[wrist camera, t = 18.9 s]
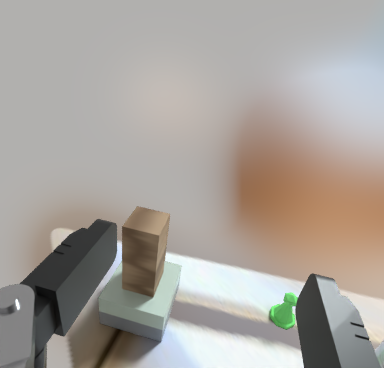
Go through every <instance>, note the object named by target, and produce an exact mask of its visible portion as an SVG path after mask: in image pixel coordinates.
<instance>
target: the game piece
mask: <svg viewBox="0 0 384 368" xmlns="http://www.w3.org/2000/svg"><path fill="white" fill-rule="evenodd" d="M297 299H298V298H297V297H296V296H295V295H294V294H293V293H285V297H284V300H283V301H284V303H283V304H281V305H280V304H277V305H275V306H273V307H272V308H271V312H270V318H271V319H272V321H273V322H274V323H275V325H276V326H278V327H281V328H283V329H286V330H287V329H289V328H291V327H293V326H294V324H295V315H294V314H293V313H292V306H296V303H297Z"/></svg>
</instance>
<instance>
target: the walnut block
mask: <svg viewBox="0 0 384 368" xmlns="http://www.w3.org/2000/svg"><path fill="white" fill-rule="evenodd" d="M169 219H170V214H168V213H163V212H159V211H155V210H151V209H147V208H142V207H136V209H135V210H134V211H133V213H132V214H131V216H130V217H129V218H128V220H127V221H126V222H125V224H124V225H123V226H122V289H124V290H128V291H132V292H135V293H139V294H142V295H146V296H150V297H154V295H155V292H156V290H157V287H158V285H159V282H160V280H161V277H162V275H163V272H164V263H165V254H166V245H167V236H168V227H169Z"/></svg>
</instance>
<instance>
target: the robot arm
mask: <svg viewBox="0 0 384 368" xmlns="http://www.w3.org/2000/svg"><path fill="white" fill-rule="evenodd" d="M116 253H117V225H116V223H113V222H109V221H105V220H101V219H97V220H96V221H95V222H94V223H93V224H92V225H91V226H90V227H89V228H88V229H85V228H81V229H79V230H77V231H75V232H73V233H72V234H70V235H69V236H68V237H67V238H66V239H65V240H64V241H63V242H62V243H61V245H59V246H58V247H57V248H56V249H55V250H54V252H53V253H51V254H50V255H49V256H48V257H47V258H46V259H45V260H44V261H43V262H42V263H41V264H40V265H39V266H37V268H35V269H34V271H32V273H30V274H29V275H28V276H27V277H26V278H25V279H24V280H23V281H22V282H21V283H20V284H15V285H9V286H6V287H3V288H1V289H0V368H46V358H47V357H46V356H47V344H46V343H47V342H48V341H49V339H50V338H51V336H52V335H53V334H54V333H55V334H57V335H60V336H65V335H66V333H67V332H68V330H69V329H70V327H71V326H72V324H73V323H74V321H75V320H76V318H77V317H78V315H79V314H80V312H81V311H82V309H83V308H84V306H85V305H86V303H87V302H88V300H89V299H90V297H91V296H92V294H93V293H94V291H95V290H96V288H97V287H98V285H99V284H100V282H101V281H102V279H103V278H104V276H105V275H106V273H107V272H108V270H109V269H110V267H111V266H112V264H113V262H114V260H115V257H116ZM296 320H297V327H298V333H299V339H300V345H301V351H302V357H303V363H304V368H384V340H383V341H382V342H381V344H380V345H379V346H378V347H377V348H376V350H375V351H374V348H373V346H372V344H371V341H369V336H368V334H367V331H366V329H365V328H364V324H363V322H362V319H361V317H360V314H359V312H358V310H357V309H356V308H355V306H354V305H353V304H352V302H351V301H350V300H349V299H348V297H346V296H342V295H340V292H339V290H338V287H337V284H336V282H335V280H334V279H332V278H329V277H324V276H320V275H317V274H311V275H310V276H309V277H308V280H307V281H306V283H305V285H304V287H303V289H302V291H301V293H300V295H299V297H298V299H297V303H296Z"/></svg>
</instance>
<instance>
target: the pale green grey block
mask: <svg viewBox="0 0 384 368" xmlns="http://www.w3.org/2000/svg"><path fill="white" fill-rule="evenodd" d="M181 267H182V266H181V265H178V264H174V263H170V262H166V261H165V263H164V272H163V275H162V277H161V280H160V282H159V285H158V287H157V290H156V292H155V295H154V297H150V296H146V295H142V294H139V293H135V292H132V291H128V290H124V289H122V261H121V263H120V264H119V266H118V268H117V269H116V271H115V272H114V274H113V276H112V277H111V279H110V280H109V282H108V283H107V285H106V287H105V288H104V290H103V291H102V293H101V294H100V296H99V298H98V302H99V318H100V323H101V324H104V325H107V326H110V327H114V328H117V329H120V330H123V331H127V332H130V333H133V334H137V335H140V336H143V337H146V338H150V339H153V340H156V341H159V342H161V341H162V337H163V334H164V331H165V328H166V325H167V322H168V319H169V316H170V312H171V309H172V306H173V303H174V300H175V297H176V294H177V290H178V286H179V280H180V273H181Z"/></svg>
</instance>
